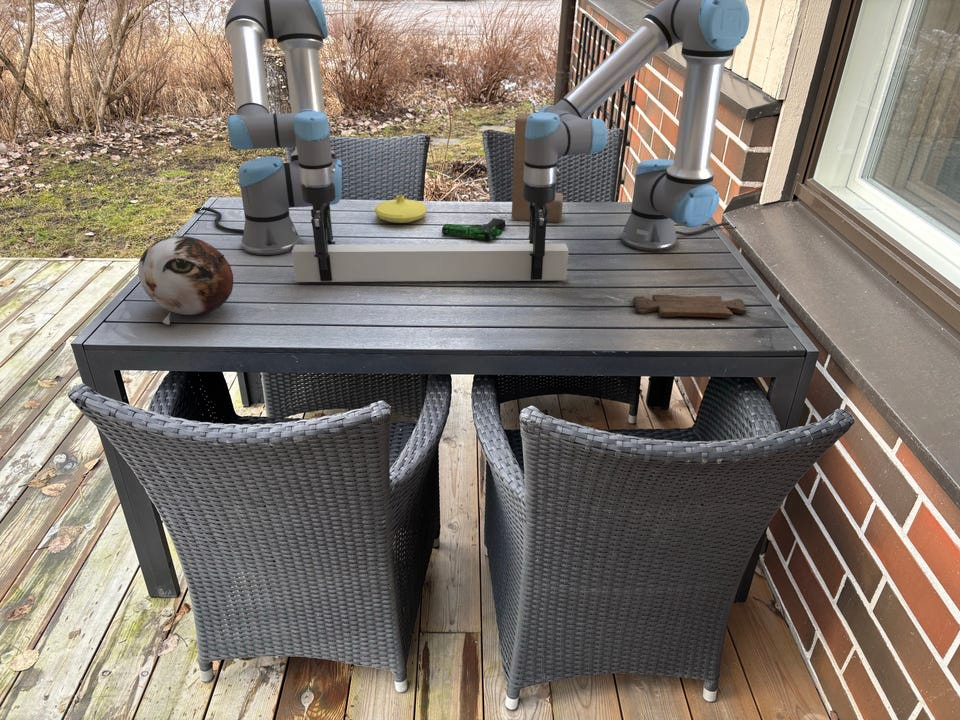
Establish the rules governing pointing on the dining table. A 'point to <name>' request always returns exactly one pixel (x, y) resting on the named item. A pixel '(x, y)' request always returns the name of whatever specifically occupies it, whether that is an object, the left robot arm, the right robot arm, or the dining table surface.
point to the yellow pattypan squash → (400, 210)
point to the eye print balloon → (185, 276)
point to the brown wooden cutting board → (689, 306)
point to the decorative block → (518, 203)
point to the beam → (429, 262)
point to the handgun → (476, 230)
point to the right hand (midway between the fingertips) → (535, 274)
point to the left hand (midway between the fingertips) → (327, 275)
